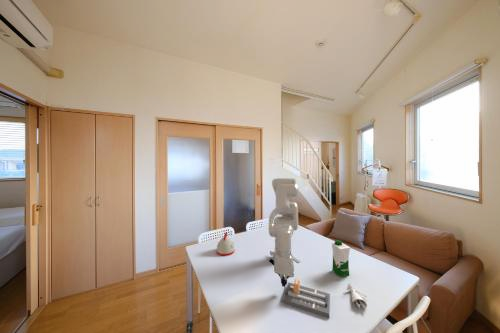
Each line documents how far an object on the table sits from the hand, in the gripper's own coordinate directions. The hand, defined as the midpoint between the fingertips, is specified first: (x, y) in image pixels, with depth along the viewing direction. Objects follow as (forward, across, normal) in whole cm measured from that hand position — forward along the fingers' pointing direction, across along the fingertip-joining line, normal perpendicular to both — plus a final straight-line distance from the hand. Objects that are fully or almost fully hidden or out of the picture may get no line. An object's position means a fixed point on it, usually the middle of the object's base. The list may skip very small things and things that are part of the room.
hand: (284, 285), depth 98 cm
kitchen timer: (+5, -54, +26) cm, 60 cm away
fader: (+2, +7, 0) cm, 7 cm away
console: (+4, +12, 0) cm, 13 cm away
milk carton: (+5, +29, +33) cm, 44 cm away
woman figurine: (+5, +35, +12) cm, 37 cm away
